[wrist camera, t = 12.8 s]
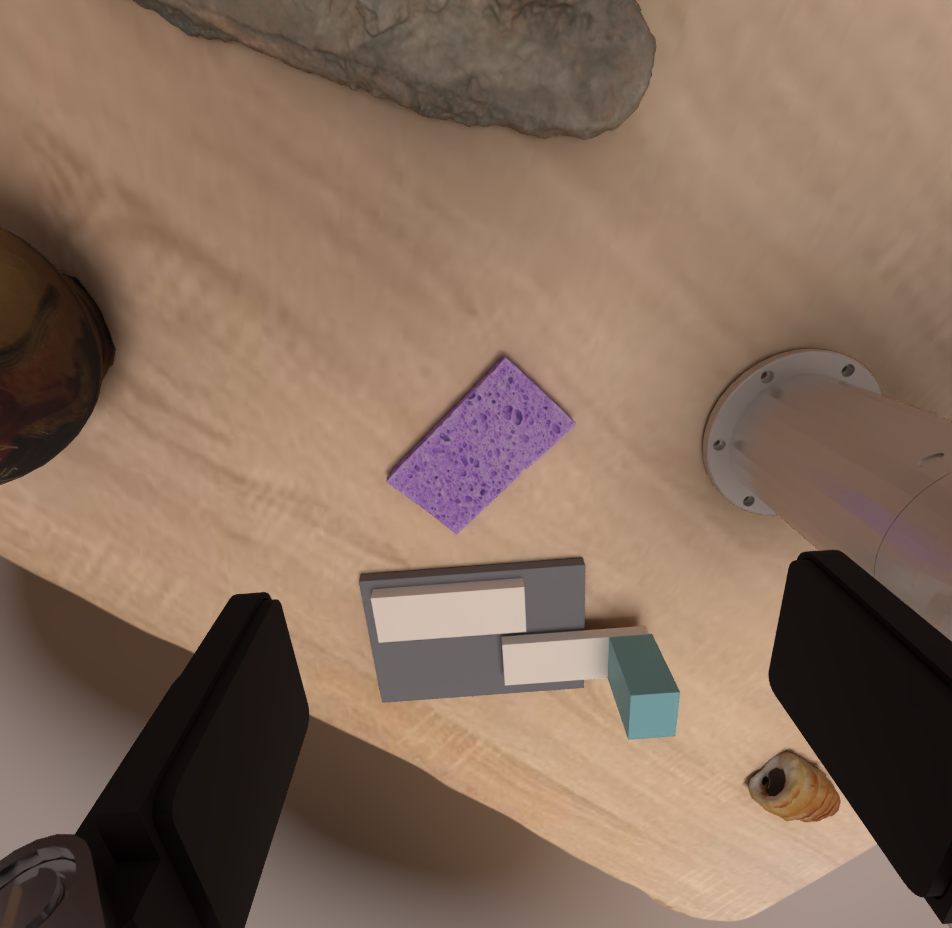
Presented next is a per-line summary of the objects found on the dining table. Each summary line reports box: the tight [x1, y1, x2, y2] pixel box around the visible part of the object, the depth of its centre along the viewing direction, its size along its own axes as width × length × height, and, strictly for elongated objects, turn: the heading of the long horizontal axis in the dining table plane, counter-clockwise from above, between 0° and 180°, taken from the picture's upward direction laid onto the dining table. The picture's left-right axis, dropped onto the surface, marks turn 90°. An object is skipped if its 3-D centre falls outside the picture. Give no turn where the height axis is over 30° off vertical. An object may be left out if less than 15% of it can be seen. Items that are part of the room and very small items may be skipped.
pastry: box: [749, 752, 840, 822], centre depth 53 cm, size 9×7×4 cm
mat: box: [359, 558, 585, 703], centre depth 45 cm, size 18×13×1 cm
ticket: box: [371, 578, 526, 643], centre depth 43 cm, size 12×5×1 cm, turn 94°
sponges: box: [386, 356, 576, 534], centre depth 38 cm, size 7×13×2 cm, turn 136°
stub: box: [502, 626, 680, 740], centre depth 42 cm, size 12×4×7 cm, turn 94°
